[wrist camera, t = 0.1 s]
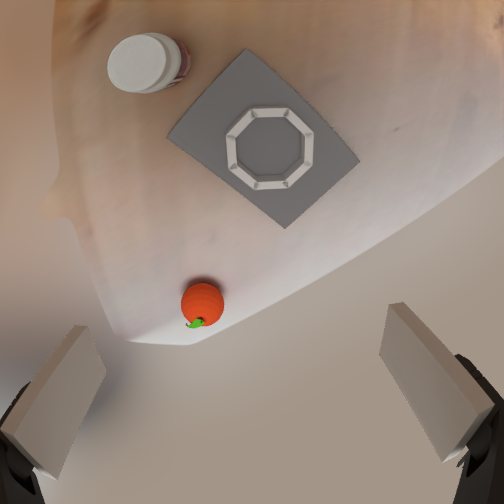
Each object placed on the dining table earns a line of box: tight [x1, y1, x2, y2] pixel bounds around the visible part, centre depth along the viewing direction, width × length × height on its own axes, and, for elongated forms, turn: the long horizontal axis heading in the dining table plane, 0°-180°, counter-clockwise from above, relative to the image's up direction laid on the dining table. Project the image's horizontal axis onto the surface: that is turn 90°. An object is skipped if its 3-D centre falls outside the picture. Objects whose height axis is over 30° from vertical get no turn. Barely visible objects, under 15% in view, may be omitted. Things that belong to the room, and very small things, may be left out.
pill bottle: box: [107, 32, 191, 93], centre depth 21 cm, size 6×6×11 cm
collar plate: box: [166, 48, 360, 229], centre depth 32 cm, size 14×20×3 cm
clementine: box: [181, 283, 224, 328], centre depth 44 cm, size 8×7×7 cm
